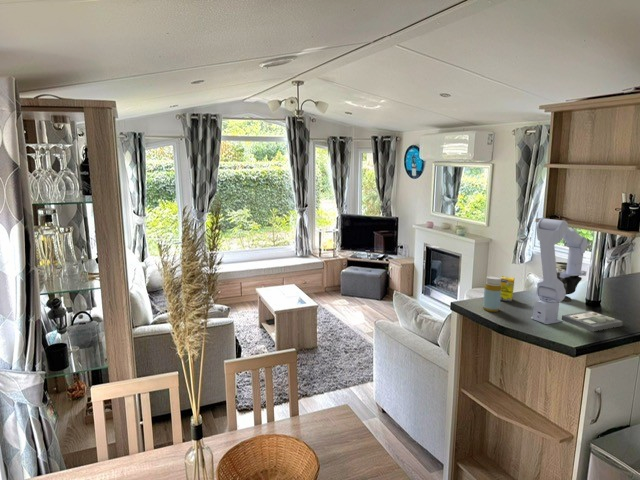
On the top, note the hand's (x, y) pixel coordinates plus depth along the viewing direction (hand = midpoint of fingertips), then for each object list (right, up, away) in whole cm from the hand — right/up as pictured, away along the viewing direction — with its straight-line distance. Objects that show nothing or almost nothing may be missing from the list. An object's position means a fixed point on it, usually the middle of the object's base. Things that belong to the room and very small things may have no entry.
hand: (570, 292), depth 197 cm
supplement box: (-22, -6, +18) cm, 29 cm away
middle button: (+3, -11, -14) cm, 18 cm away
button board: (+2, -12, -11) cm, 16 cm away
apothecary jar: (+7, -6, +22) cm, 24 cm away
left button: (-2, -12, -16) cm, 21 cm away
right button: (+9, -12, -12) cm, 19 cm away
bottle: (-35, -8, +3) cm, 36 cm away
